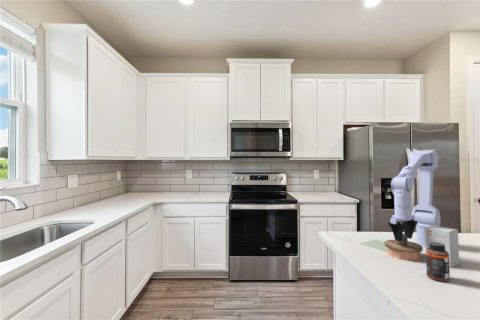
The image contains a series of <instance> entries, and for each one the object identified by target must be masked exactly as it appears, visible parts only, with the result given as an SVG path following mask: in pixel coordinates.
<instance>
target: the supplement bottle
mask: <svg viewBox="0 0 480 320" xmlns="http://www.w3.org/2000/svg"><path fill="white" fill-rule="evenodd" d="M429 246H430V247H429V248H428V249H427V250H426V249H425V261H426V262H425V263H426V266H425V267H426V276H427V277H428V278H430V279H432V280H434V281H438V282H449V281H450V277H451V275H450V267H449V253H448V252H447V251H446V250H445V245H444V244H442V243H438V242H430V243H429Z"/></svg>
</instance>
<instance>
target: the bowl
mask: <svg viewBox="0 0 480 320" xmlns="http://www.w3.org/2000/svg"><path fill="white" fill-rule="evenodd" d="M387 253H388V255H389V257H392V258H395V259H398V260H402V261H408V262H409V261H410V262H416V261H417V262H418V261H420V260H422V259H421V258H422V254H421V253H422V251H421V252H402V251H397V250H393V249H390V248H388V252H387Z"/></svg>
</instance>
